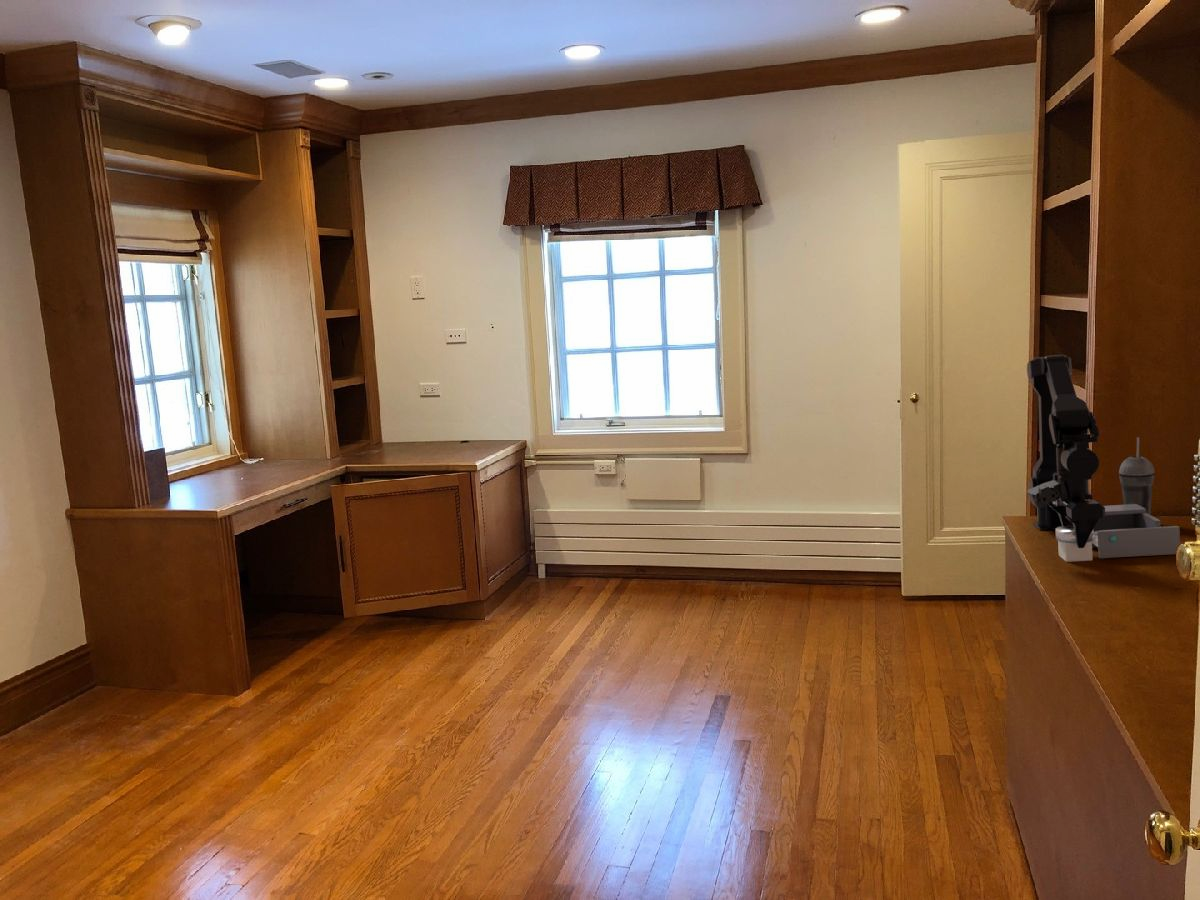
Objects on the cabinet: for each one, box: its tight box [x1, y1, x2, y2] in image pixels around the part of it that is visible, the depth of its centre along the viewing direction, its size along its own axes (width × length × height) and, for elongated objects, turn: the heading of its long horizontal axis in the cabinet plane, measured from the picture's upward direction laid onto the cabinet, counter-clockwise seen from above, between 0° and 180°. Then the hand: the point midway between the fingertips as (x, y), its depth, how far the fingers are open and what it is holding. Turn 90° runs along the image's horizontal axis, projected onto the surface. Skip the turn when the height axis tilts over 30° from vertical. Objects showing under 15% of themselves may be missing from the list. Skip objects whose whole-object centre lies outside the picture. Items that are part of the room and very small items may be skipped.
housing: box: [1092, 504, 1162, 549], centre depth 212 cm, size 13×15×6 cm
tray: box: [1092, 525, 1181, 559], centre depth 203 cm, size 14×15×6 cm
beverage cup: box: [1118, 437, 1156, 515], centre depth 221 cm, size 7×7×20 cm
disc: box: [1055, 525, 1094, 543], centre depth 200 cm, size 7×7×2 cm
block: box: [1057, 540, 1093, 563], centre depth 201 cm, size 5×5×4 cm
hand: (1074, 543), depth 201 cm, fingers closed on disc, 7 cm apart
